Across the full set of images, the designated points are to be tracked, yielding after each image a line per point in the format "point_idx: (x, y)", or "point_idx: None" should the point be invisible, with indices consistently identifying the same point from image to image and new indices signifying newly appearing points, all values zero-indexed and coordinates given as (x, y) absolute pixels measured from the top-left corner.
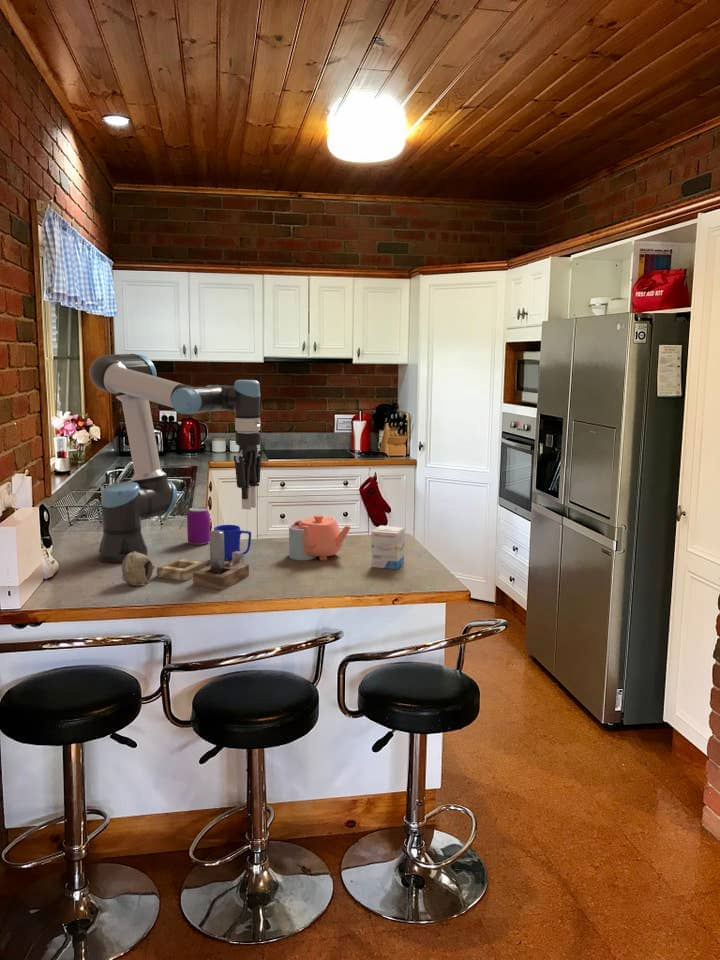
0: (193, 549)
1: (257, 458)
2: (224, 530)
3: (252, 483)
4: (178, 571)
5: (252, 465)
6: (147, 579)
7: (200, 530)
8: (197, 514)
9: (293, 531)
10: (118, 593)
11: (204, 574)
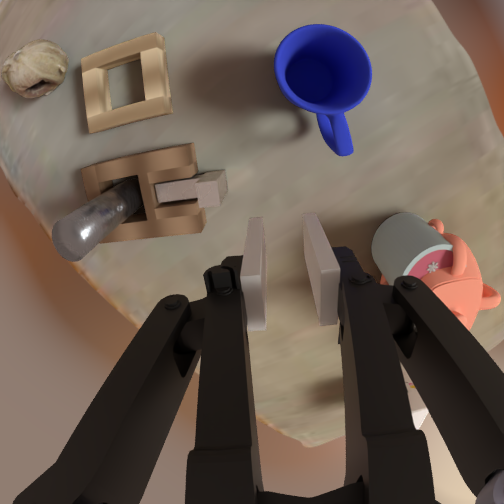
0: None
1: (476, 477)
2: (343, 45)
3: (341, 317)
4: (88, 114)
5: (346, 465)
6: (54, 84)
7: None
8: None
9: (398, 273)
10: (13, 100)
11: (89, 196)
